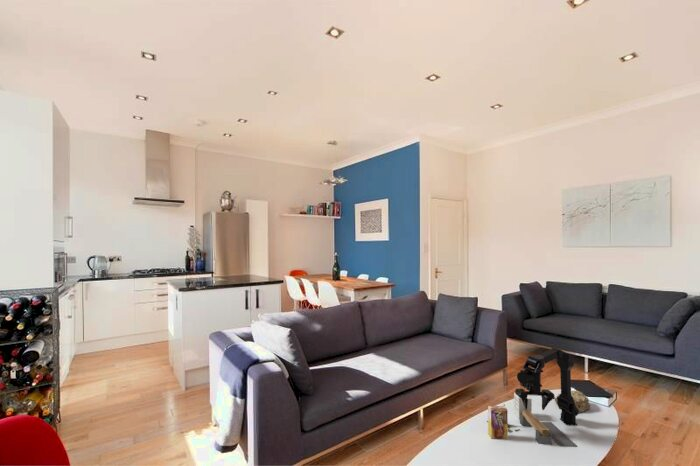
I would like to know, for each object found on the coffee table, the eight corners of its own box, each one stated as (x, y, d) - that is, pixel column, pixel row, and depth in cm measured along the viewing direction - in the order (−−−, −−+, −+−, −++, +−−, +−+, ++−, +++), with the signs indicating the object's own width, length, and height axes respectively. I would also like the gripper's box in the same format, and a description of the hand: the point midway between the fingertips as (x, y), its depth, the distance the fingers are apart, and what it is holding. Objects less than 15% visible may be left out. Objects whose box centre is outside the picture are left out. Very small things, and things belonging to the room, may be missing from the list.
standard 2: (548, 440, 171) (548, 430, 172) (551, 444, 168) (551, 433, 169) (535, 440, 172) (535, 429, 172) (538, 443, 168) (538, 433, 169)
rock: (574, 417, 197) (569, 400, 199) (553, 411, 210) (548, 395, 212) (597, 408, 204) (592, 391, 206) (575, 403, 217) (570, 387, 220)
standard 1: (531, 423, 187) (531, 414, 188) (534, 426, 184) (534, 416, 185) (519, 423, 187) (520, 413, 188) (522, 426, 184) (522, 416, 185)
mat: (551, 422, 189) (551, 422, 189) (577, 446, 167) (577, 446, 167) (535, 422, 189) (535, 421, 189) (559, 446, 167) (559, 445, 167)
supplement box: (526, 413, 198) (526, 392, 199) (531, 420, 191) (531, 398, 191) (513, 413, 199) (513, 392, 199) (518, 419, 192) (518, 397, 192)
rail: (528, 416, 188) (528, 409, 188) (549, 436, 168) (549, 429, 168) (522, 415, 188) (522, 409, 188) (542, 436, 168) (542, 429, 168)
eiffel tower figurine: (485, 422, 189) (485, 398, 189) (496, 417, 194) (497, 395, 194) (509, 435, 176) (510, 410, 176) (521, 430, 181) (521, 406, 181)
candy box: (504, 434, 176) (504, 405, 177) (507, 439, 172) (508, 409, 172) (487, 433, 176) (487, 405, 177) (491, 438, 172) (491, 409, 172)
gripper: (543, 375, 187) (543, 402, 187) (510, 374, 187) (510, 401, 187) (555, 383, 176) (555, 413, 176) (520, 382, 176) (520, 411, 176)
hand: (534, 409), depth 179 cm, fingers open, 9 cm apart
